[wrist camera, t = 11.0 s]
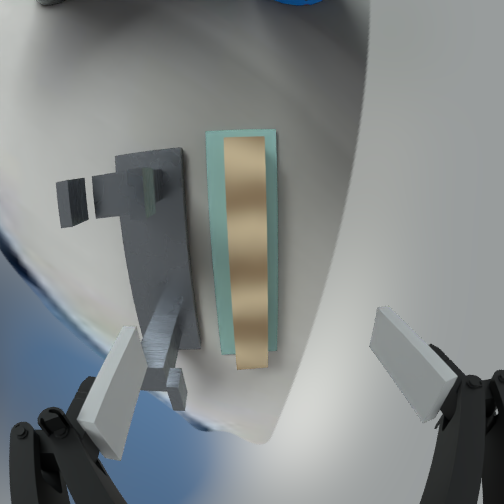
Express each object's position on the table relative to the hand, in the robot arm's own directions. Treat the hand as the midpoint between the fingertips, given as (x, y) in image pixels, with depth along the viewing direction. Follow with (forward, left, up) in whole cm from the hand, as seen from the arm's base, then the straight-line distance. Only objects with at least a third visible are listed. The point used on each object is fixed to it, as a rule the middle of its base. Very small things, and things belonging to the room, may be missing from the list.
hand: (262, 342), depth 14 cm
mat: (0, 0, -17) cm, 17 cm away
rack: (0, -9, -17) cm, 19 cm away
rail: (+1, 0, -16) cm, 16 cm away
